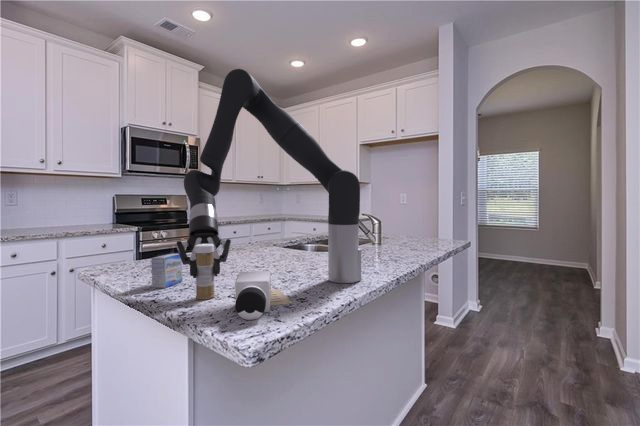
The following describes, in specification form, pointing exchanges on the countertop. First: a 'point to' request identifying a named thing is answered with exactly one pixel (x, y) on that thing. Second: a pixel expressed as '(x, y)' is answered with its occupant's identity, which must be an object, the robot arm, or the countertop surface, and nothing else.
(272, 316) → the countertop surface
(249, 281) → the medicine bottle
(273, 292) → the letter
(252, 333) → the countertop surface
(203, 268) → the sprinkles bottle
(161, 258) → the medicine box
